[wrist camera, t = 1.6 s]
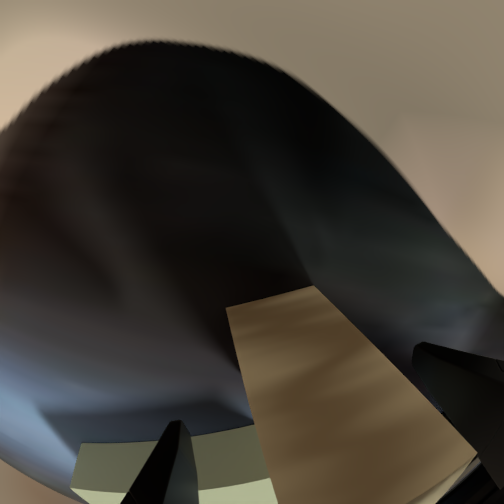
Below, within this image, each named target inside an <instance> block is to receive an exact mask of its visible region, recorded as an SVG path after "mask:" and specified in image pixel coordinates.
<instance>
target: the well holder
mask: <svg viewBox="0 0 504 504" xmlns="http://www.w3.org/2000/svg"><path fill="white" fill-rule="evenodd" d="M191 441H192V447H193V452H194V458H195V464H196V469H197V477H198V492H199V504H278V502H277V499H276V495H275V492H274V489H273V486H272V482H271V479H270V476H269V473H268V469H267V466H266V462H265V459H264V456H263V452H262V449H261V445H260V442H259V438H258V434H257V431H256V427H255V424H254V425H250V426H246V427H241V428H237V429H232V430H227V431H222V432H217V433H211V434H205V435H199V436H193V437H191ZM157 442H158V441H148V442H132V443H81V446H80V450H79V453H78V457H77V461H76V464H75V468H74V472H73V476H72V480H71V485H70V488H71V489H72V490H73V491H74V492H76V493H77V494H78V495H79V496H81V497H82V498H83V499H84V500H86V501H87V502H88V503H90V504H120V503H121V501H122V500H123V498H124V496H125V495H126V493H127V492H128V491H129V489H130V487H131V485H132V484H133V482H134V480H135V479H136V477H137V475H138V474H139V472H140V471H141V469H142V467H143V466H144V464H145V462H146V461H147V459H148V457H149V456H150V454H151V452H152V451H153V449H154V447H155V446H156V444H157Z"/></svg>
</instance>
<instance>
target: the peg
mask: <svg viewBox="0 0 504 504" xmlns="http://www.w3.org/2000/svg"><path fill="white" fill-rule="evenodd" d="M226 312H227V316H228V320H229V325H230V329H231V333H232V337H233V342H234V346H235V350H236V354H237V358H238V362H239V366H240V370H241V374H242V378H243V382H244V386H245V390H246V394H247V397H248V401H249V405H250V409H251V413H252V416H253V420H254V424H255V427H256V431H257V434H258V438H259V442H260V445H261V449H262V452H263V456H264V459H265V462H266V466H267V469H268V473H269V476H270V479H271V482H272V486H273V489H274V492H275V495H276V499H277V502H278V504H435V503H436V502H437V501H438V500H439V499H440V498H441V497H442V496H443V495H444V494H445V493H446V492H447V490H448V489H449V488H450V487H451V486H452V485H453V484H454V482H455V481H456V480H457V479H458V478H459V476H460V475H461V474H462V473H463V471H464V470H465V469H466V468H467V466H468V465H469V464H470V462H471V461H472V460H473V458H474V457H475V456H476V454H477V452H476V451H475V450H474V448H473V447H472V446H471V445H470V444H469V443H468V442H467V441H466V440H465V439H464V438H463V437H462V436H461V435H460V433H459V432H458V431H457V430H456V429H455V428H454V427H453V426H452V425H451V424H450V423H449V422H448V421H447V420H446V419H445V418H444V416H443V415H442V414H441V413H440V412H439V411H438V410H437V409H436V408H435V407H434V406H433V405H432V404H431V403H430V402H429V401H428V400H427V399H426V398H425V397H424V396H423V395H422V394H421V393H420V391H419V390H418V389H417V388H416V387H415V386H414V385H413V384H412V383H411V382H410V381H409V380H408V379H407V378H406V377H405V376H404V375H403V374H402V373H401V372H400V371H399V370H398V369H397V368H396V367H395V366H394V365H393V364H392V363H391V362H390V361H389V360H388V359H387V358H386V357H385V356H384V355H383V354H382V353H381V352H380V351H379V350H378V349H377V348H376V347H375V346H374V345H373V344H372V343H371V342H370V341H369V340H368V339H367V338H366V337H365V336H364V335H363V334H362V333H361V332H360V331H359V330H358V329H357V328H356V327H355V326H354V325H353V324H352V323H351V322H350V321H349V320H348V319H347V318H346V317H345V316H344V315H343V314H342V313H341V312H340V311H339V310H338V309H337V308H336V307H335V306H334V305H333V304H332V303H331V302H330V301H329V300H328V299H327V298H326V297H325V296H324V295H323V294H322V293H321V292H320V291H319V290H318V289H317V288H316V287H315V286H314V285H313V286H309V287H306V288H302V289H299V290H295V291H291V292H287V293H284V294H280V295H276V296H272V297H268V298H264V299H260V300H256V301H252V302H248V303H244V304H240V305H236V306H232V307H228V308H226Z"/></svg>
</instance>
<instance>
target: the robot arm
mask: <svg viewBox="0 0 504 504" xmlns="http://www.w3.org/2000/svg"><path fill="white" fill-rule="evenodd" d="M412 365H413V367H414V369H415V370H416V372H417V373H418V375H419V377H420V378H421V380H422V381H423V383H424V385H425V386H426V388H427V389H428V391H429V392H430V394H431V395H432V397H433V398H434V399H435V400H436V402H437V403H438V404H439V406H440V407H441V408H442V409H443V411H444V413H443V414H442V415H443V416H444V418H445V419H446V420H447V421H448V422H449V423H450V424H451V425H452V426H453V427H454V428H455V429H456V430H457V431H458V432H459V433H460V435H461V436H462V437H463V438H464V439H465V440H466V441H467V442H468V443H469V444H470V445H471V446H472V447H473V448H474V450H475V451H476V452H477V454H476V456H475V457H474V458H473V460H472V461H471V462H470V464H469V465H468V466H467V468H466V469H465V470H464V471H463V473H462V474H461V475H460V476H459V478H458V479H457V480H456V481H455V482H454V484H456V483H457V482H458V481H459V480H460V479H461V478H463V477H464V476H465V475H466V474H467V473H468V472H469V471H470V470H471V469H472V468H473V467H474V466H475V465H477V464H478V463H479V462H480V461H481V463H480V464H479V465H478V466H477V467H476V468H475V469H474V470H473V471H472V472H471V473H470V474H469V475H468V476H467V477H465V478H464V479H463V480H462V481H461V482H460V483H459V484H457V485H456V486H455V487H454V488H453V489H451V490H450V491H449V492H448V493H447V494H445V495H444V496H443V497H441V498H440V499H439V500H438V501H437V502H436V503H435V504H504V361H502V360H498V359H496V360H495V359H493V358H489V357H484V356H480V355H476V354H471V353H467V352H463V351H459V350H455V349H451V348H447V347H443V346H439V345H435V344H431V343H427V342H421V343H419V344H417V345H415V347H414V350H413V356H412ZM454 484H453V485H454ZM453 485H452V486H453ZM452 486H451V487H452ZM451 487H450V488H451ZM450 488H449V489H450ZM120 504H199V492H198V477H197V469H196V464H195V458H194V452H193V447H192V441H191V436H190V433H189V431H188V430H187V428H186V426H185V424H184V423H183V421H182V420H175V421H171V422H169V424H168V426H167V427H166V429H165V431H164V432H163V434H162V436H161V437H160V439H159V441H158V442H157V444H156V446H155V447H154V449H153V451H152V452H151V454H150V456H149V457H148V459H147V461H146V462H145V464H144V466H143V467H142V469H141V471H140V472H139V474H138V475H137V477H136V479H135V480H134V482H133V484H132V485H131V487H130V489H129V491H128V492H127V493H126V495H125V496H124V498H123V500H122V501H121V503H120Z"/></svg>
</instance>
